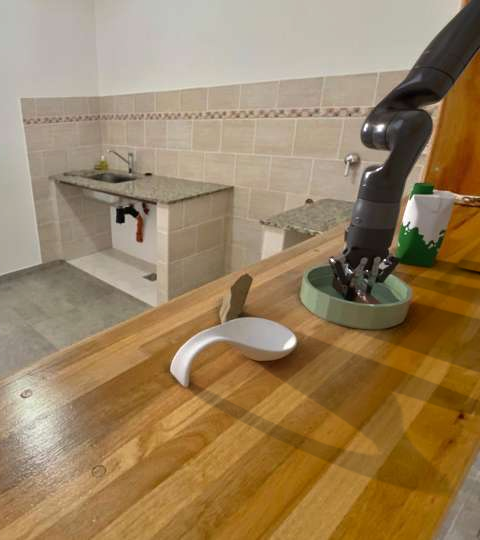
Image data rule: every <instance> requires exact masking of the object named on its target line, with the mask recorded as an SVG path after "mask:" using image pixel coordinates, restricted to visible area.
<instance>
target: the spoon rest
mask: <svg viewBox="0 0 480 540" xmlns="http://www.w3.org/2000/svg"><path fill="white" fill-rule="evenodd" d="M215 344H227V345H228V346H230V347H231V348H233V349H234V350H236V351H237V352H239V353H240V354H241V355H243V356H244V357H246V358H247V359H249V360H253V361H258V362H267V361H275V360H279V359H282V358H284V357H286V356H288V355H289V354H290V353H292V352H293V351H294V350H295V349H296V347H297V346H298V338H297V336H296V335H295V333H294V332H293V331H292V330H291V329H289V328H288V327H286V326H284V325H283V324H281V323H279V322H276V321H274V320H271V319H267V318H262V317H255V316H253V317H252V316H248V317H247V316H246V317H239V318H238V319H234V320H231V321H228V322H226V323H223V324H218V325H215V326H213V327H209V328H208V329H204V330H202V331H200V332H198V333H197V334H194V335H193V336H191V338H189V339H188V340H187V341H186V342H185V343H184V344H182V346H181V347H180V348H179V349H178V351H177V352H176V354H175V355H174V357H173V358H172V361H171V364H170V373H171V375H172V376H173V377H174V378H175V379H176V380H177V382H178V383H179V384H180V385H181V386H183V387H184V388H188V387H189V384H190V372H191V369H192V365H193V363H194V361H195V360H196V358H197V357H198V356H199V355H200V354H201V353H202V352H204V350H206V349H207V348H209V347H211V346H213V345H215Z"/></svg>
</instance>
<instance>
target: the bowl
mask: <svg viewBox="0 0 480 540" xmlns="http://www.w3.org/2000/svg"><path fill="white" fill-rule="evenodd" d="M346 266H347V264H344V267H343V270H344V273H346V271H345V268H346ZM382 273H383V272H382ZM382 273H381V274H382ZM362 274H363V272H362ZM362 274H361V276H360V277H359V278H358V280H357V282H356V283H357V284H358V285H359V286H360V283H361V282H363V281H362ZM381 274H380V275H381ZM333 277H334V274H333V271H332V268H331V265H330V263H326V264H319V265H315V266H312V267H310V268H308V269H307V270H305V271H304V273H303V276H302V281H301V282H302V283H301V287H300V294H299V298H300V301H301V303H302V305H304V306H305V308H306V309H307V310H308V311H309V312H311V313H312V314H314V315H315V316H316V317H318V318H320V319H322V320H325V321H327V322H330V323H333V324H334V325H335V324H336V325H338V326H339V325H340V326H342V327H346V328H352V329H359V330H370V331H371V330H386V329H390V328H393V327H395V326H398V325H400V324H402V323H403V322H404V321H405V319H406V318H407V315H408V312H409V308H410V306H411V303H412V299H413V296H414V294H413V289H412V288H411V287H410V286H409V284H408V283H407V282H405V281H404V280H403V279H401V278H399V277H398V276H395V275H393V274H392V273H391V274H390V275H389V276H388V277H387V278H386V280H385V281H384V282H383V283H376V284H375V285H374V286H372V290H371V295H372V296H373V297H375V298H376V299H377V300H378V301H380V302H381V303H382V304H363V303H356V302H351V301H346V300H344V298H343V297H342V295H341V294H340V293H338V292H337V291H336V290H335V289H334V288H333V287H332V282H333Z"/></svg>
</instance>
